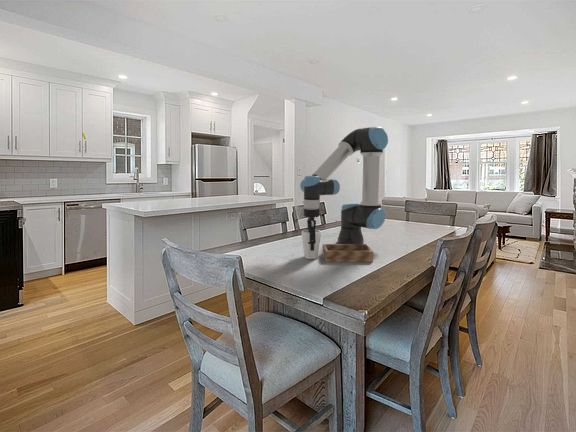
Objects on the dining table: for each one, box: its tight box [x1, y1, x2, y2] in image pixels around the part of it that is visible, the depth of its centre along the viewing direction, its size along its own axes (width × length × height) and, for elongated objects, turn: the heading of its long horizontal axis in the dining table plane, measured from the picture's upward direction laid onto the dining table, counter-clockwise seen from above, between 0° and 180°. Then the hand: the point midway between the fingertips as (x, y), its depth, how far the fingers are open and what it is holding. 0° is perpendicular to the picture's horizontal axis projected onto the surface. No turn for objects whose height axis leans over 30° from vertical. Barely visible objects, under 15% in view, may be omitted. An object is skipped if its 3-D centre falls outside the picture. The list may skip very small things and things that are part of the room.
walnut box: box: [321, 243, 374, 263], centre depth 163 cm, size 22×15×5 cm
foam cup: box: [301, 228, 322, 260], centre depth 162 cm, size 10×9×13 cm
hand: (311, 254), depth 163 cm, fingers closed on foam cup, 9 cm apart
